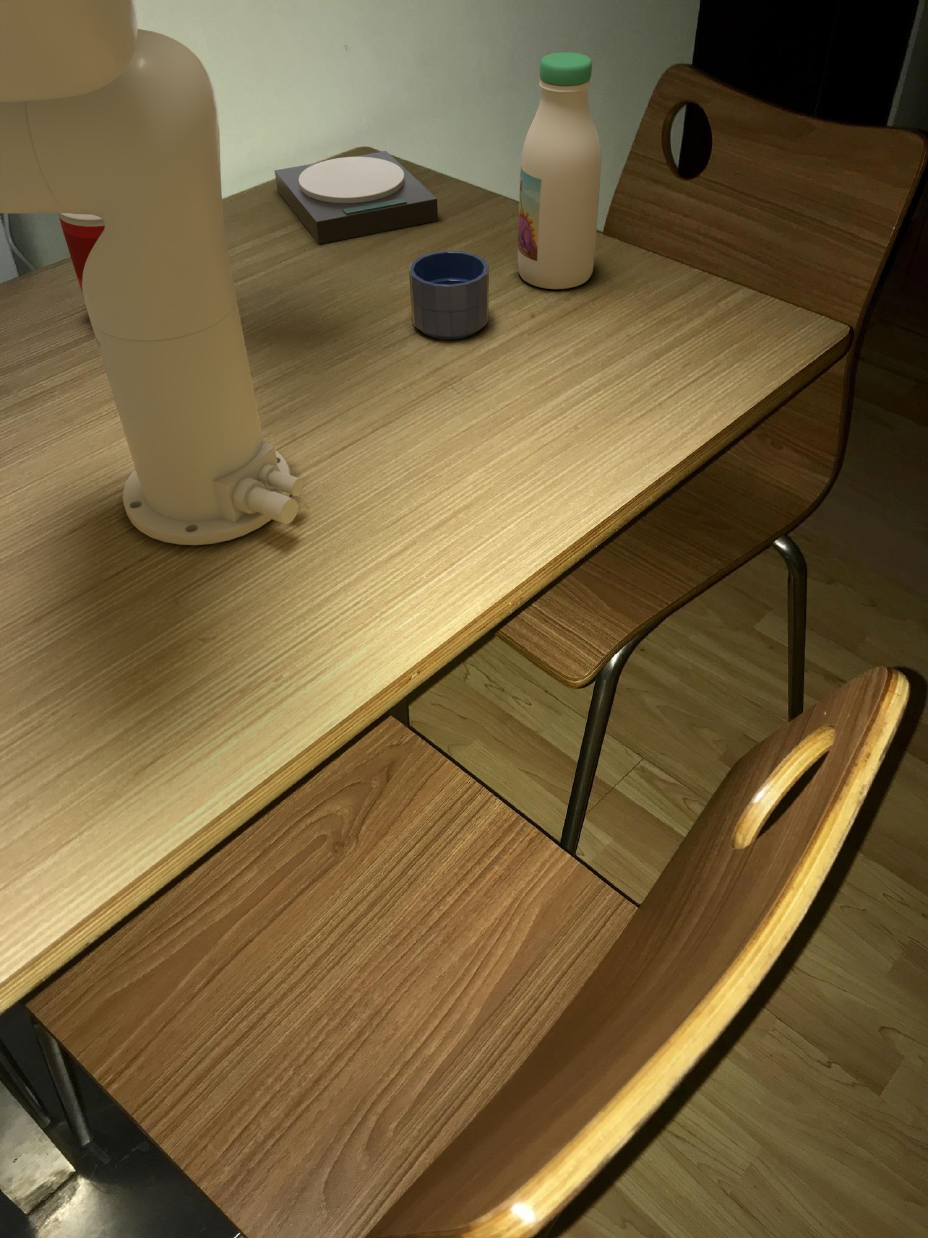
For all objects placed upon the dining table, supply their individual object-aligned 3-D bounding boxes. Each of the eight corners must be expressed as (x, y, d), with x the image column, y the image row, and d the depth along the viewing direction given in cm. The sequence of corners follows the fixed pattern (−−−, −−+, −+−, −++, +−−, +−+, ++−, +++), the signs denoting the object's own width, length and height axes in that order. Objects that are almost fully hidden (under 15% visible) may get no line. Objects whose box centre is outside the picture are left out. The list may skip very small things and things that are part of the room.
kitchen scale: (438, 220, 111) (437, 191, 109) (319, 244, 107) (315, 214, 105) (387, 171, 122) (385, 144, 120) (277, 191, 118) (273, 163, 116)
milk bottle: (598, 261, 104) (616, 47, 89) (585, 295, 98) (601, 74, 84) (526, 253, 105) (533, 42, 91) (509, 286, 100) (513, 68, 86)
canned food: (153, 337, 94) (123, 221, 86) (75, 330, 95) (39, 215, 87) (185, 299, 99) (159, 187, 91) (111, 292, 100) (79, 181, 92)
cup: (501, 315, 96) (502, 260, 92) (463, 349, 91) (462, 292, 87) (438, 298, 98) (436, 244, 94) (398, 329, 94) (394, 274, 90)
